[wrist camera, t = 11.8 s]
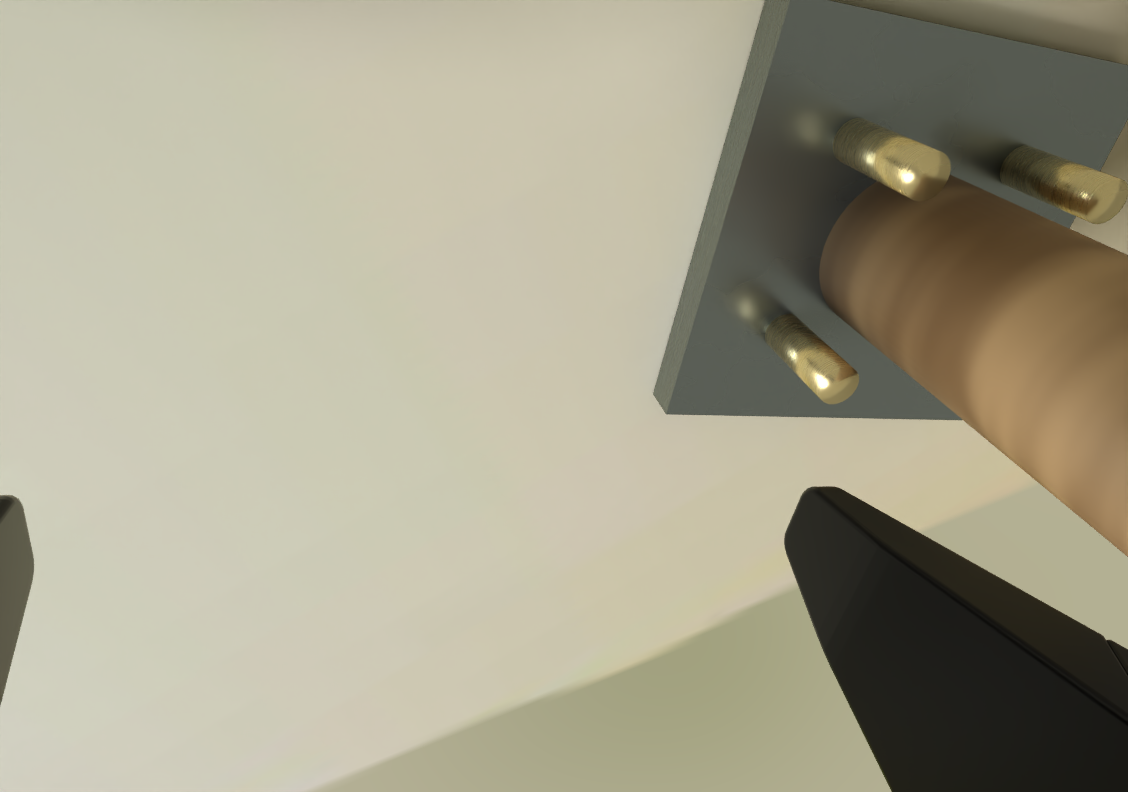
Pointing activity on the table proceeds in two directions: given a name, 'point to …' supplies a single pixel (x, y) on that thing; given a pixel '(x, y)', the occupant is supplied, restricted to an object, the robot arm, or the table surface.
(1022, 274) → the walnut post
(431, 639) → the table surface
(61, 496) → the table surface
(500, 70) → the table surface
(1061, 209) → the plate
